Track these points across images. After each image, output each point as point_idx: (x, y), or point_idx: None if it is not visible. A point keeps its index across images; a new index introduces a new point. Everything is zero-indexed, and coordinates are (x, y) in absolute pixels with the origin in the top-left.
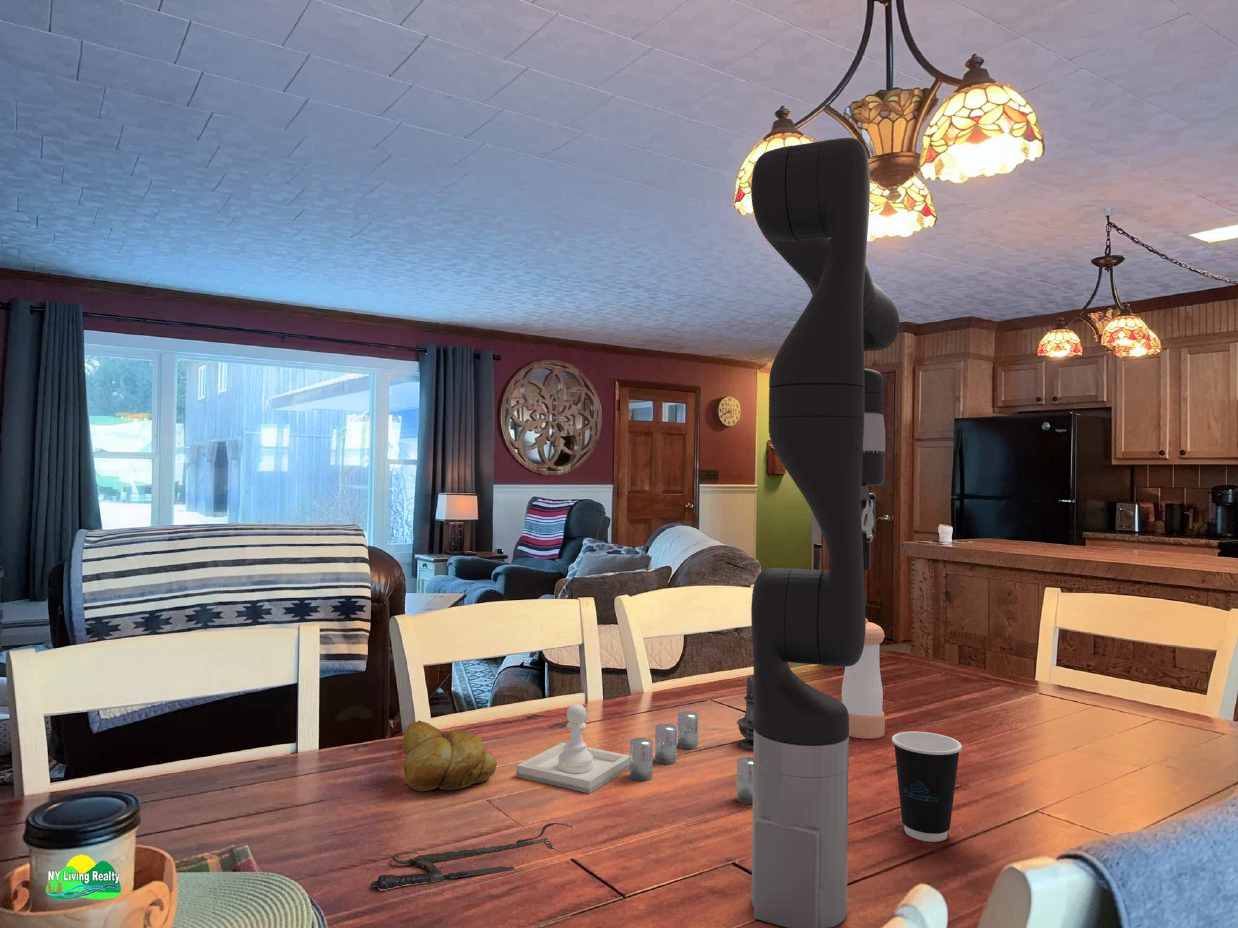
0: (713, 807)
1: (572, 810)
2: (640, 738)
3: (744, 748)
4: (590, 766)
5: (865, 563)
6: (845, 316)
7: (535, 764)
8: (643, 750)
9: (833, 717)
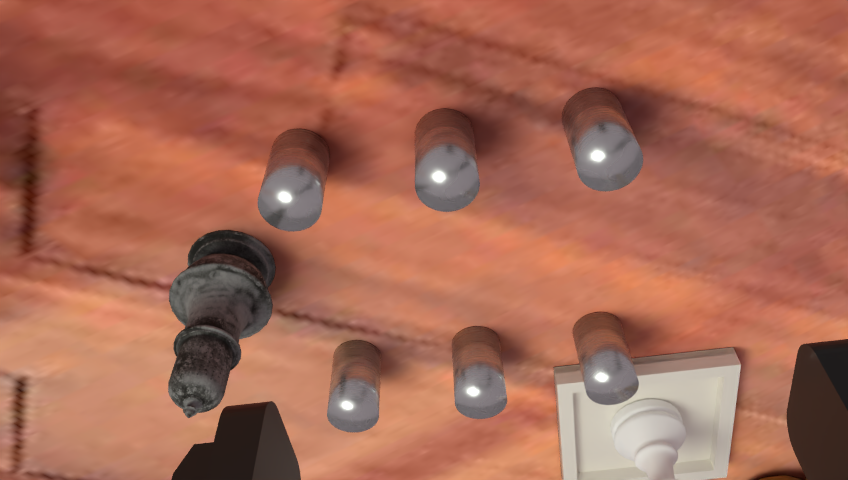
0: (681, 149)
1: (827, 324)
2: (595, 396)
3: (274, 271)
4: (647, 404)
5: (271, 455)
6: None
7: (679, 465)
8: (630, 363)
9: None
